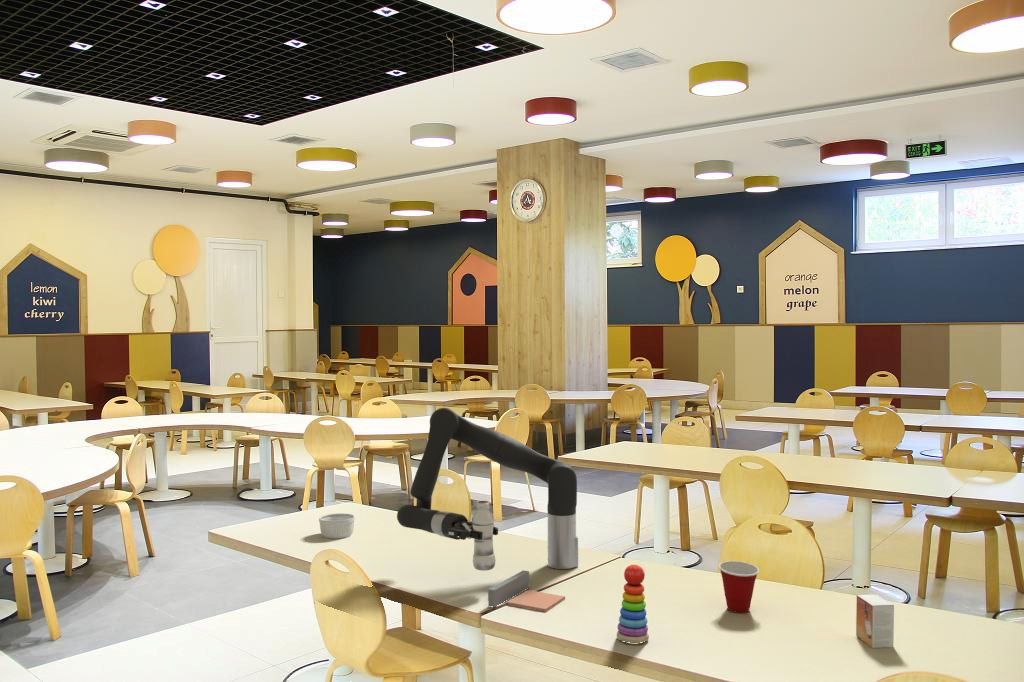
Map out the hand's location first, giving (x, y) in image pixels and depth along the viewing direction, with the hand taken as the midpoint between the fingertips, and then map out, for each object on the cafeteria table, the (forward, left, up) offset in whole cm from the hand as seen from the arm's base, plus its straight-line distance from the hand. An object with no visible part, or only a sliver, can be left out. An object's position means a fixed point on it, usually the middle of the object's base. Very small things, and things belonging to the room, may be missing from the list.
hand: (489, 533), depth 245 cm
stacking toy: (-27, +43, -18) cm, 54 cm away
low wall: (-5, +4, -18) cm, 19 cm away
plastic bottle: (+1, -2, -11) cm, 11 cm away
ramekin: (+42, -81, -18) cm, 93 cm away
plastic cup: (-63, +30, -18) cm, 72 cm away
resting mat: (-11, +10, -18) cm, 23 cm away
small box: (-84, +59, -18) cm, 105 cm away
